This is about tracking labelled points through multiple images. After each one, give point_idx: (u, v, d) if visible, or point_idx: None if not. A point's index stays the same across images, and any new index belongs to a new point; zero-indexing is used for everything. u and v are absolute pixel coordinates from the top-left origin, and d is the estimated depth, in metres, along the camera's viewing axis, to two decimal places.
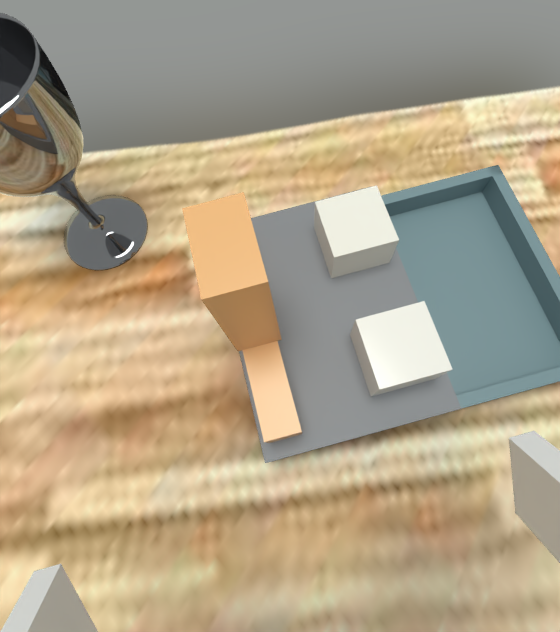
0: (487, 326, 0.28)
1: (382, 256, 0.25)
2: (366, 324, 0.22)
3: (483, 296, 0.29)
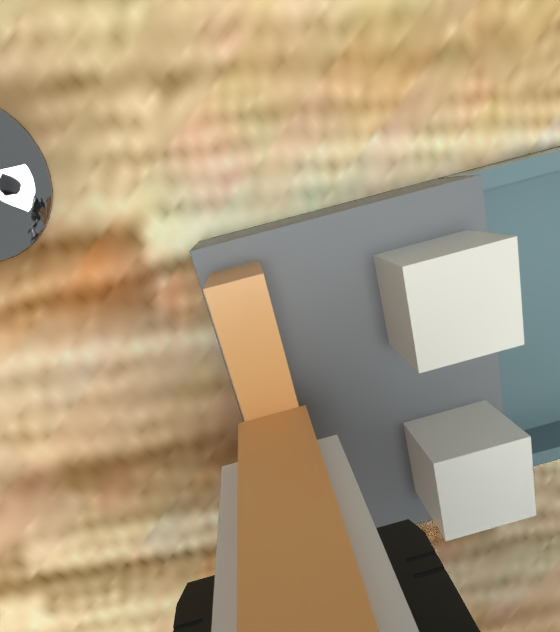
0: (554, 360, 0.22)
1: None
2: (446, 469, 0.16)
3: None
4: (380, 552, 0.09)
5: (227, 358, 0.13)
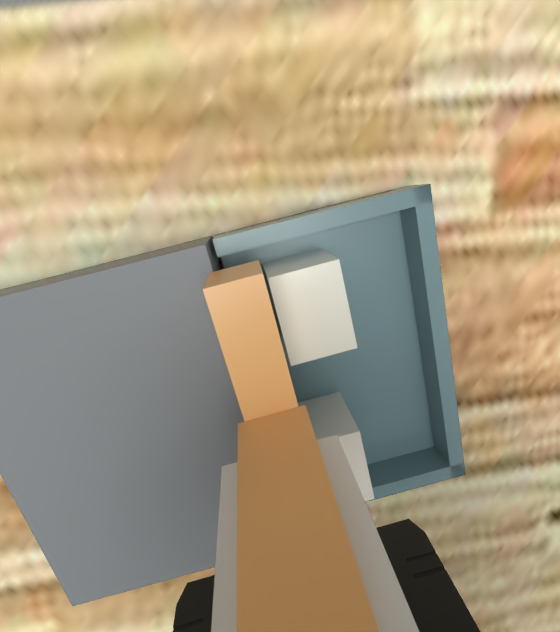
0: (356, 407, 0.23)
1: None
2: None
3: (360, 370, 0.22)
4: (380, 552, 0.09)
5: (227, 358, 0.13)
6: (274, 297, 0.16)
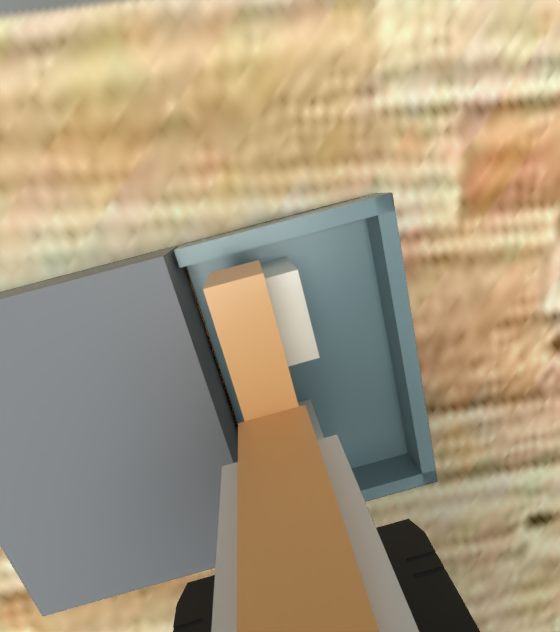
0: (328, 415, 0.23)
1: None
2: None
3: (331, 378, 0.22)
4: (380, 552, 0.09)
5: (227, 358, 0.13)
6: None
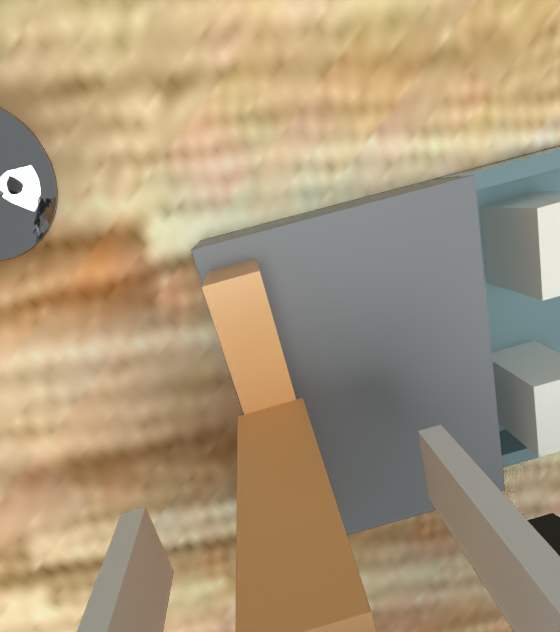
0: None
1: None
2: None
3: (557, 319, 0.22)
4: (546, 549, 0.08)
5: (226, 353, 0.14)
6: (540, 228, 0.16)
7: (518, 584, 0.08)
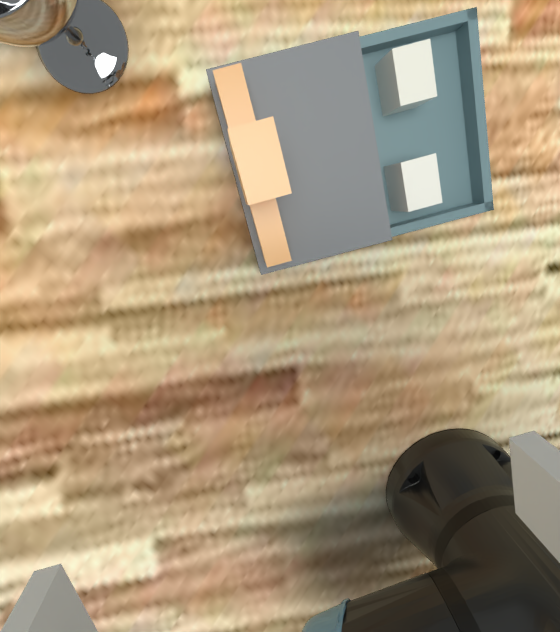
0: None
1: (400, 111, 0.34)
2: None
3: (428, 143, 0.36)
4: None
5: (224, 109, 0.28)
6: (394, 61, 0.30)
7: None
